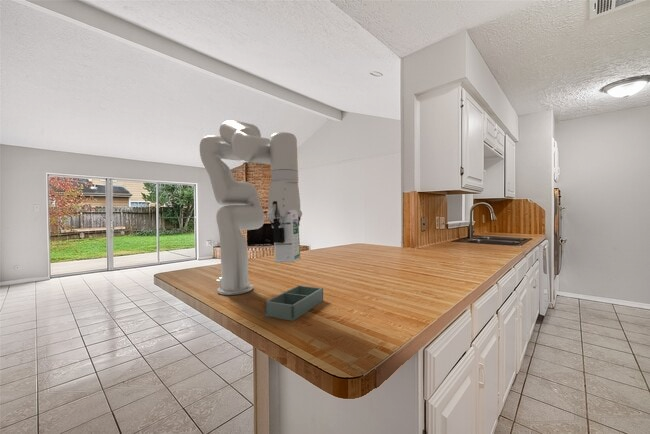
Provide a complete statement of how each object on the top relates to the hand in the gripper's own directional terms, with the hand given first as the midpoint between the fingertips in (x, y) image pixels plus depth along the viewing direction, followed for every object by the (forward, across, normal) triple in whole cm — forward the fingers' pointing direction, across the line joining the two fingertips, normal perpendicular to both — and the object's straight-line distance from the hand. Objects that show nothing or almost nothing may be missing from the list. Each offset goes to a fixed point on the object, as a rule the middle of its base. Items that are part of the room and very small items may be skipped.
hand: (286, 240), depth 79 cm
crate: (+21, -4, 0) cm, 21 cm away
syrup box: (+6, 0, 0) cm, 6 cm away
